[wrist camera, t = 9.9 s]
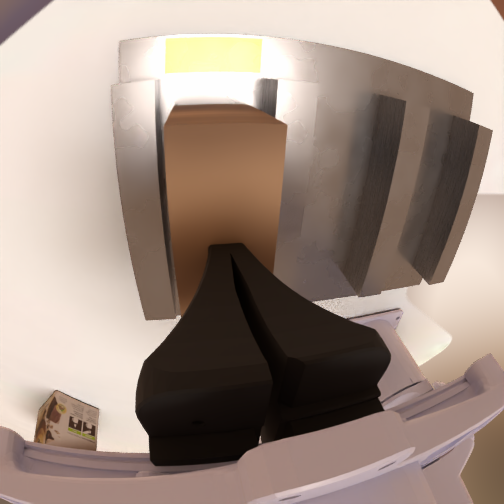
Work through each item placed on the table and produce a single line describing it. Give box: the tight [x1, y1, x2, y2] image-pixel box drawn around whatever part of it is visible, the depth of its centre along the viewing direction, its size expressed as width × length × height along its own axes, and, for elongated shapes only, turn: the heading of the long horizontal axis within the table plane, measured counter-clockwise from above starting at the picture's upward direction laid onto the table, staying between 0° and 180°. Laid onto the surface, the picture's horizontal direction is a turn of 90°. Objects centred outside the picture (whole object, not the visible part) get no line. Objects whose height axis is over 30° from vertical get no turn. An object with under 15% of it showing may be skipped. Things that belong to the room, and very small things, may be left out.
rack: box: [111, 34, 493, 320], centre depth 18 cm, size 19×25×3 cm
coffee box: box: [34, 391, 99, 451], centre depth 22 cm, size 9×6×16 cm
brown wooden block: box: [164, 104, 288, 317], centre depth 15 cm, size 12×4×7 cm, turn 177°
